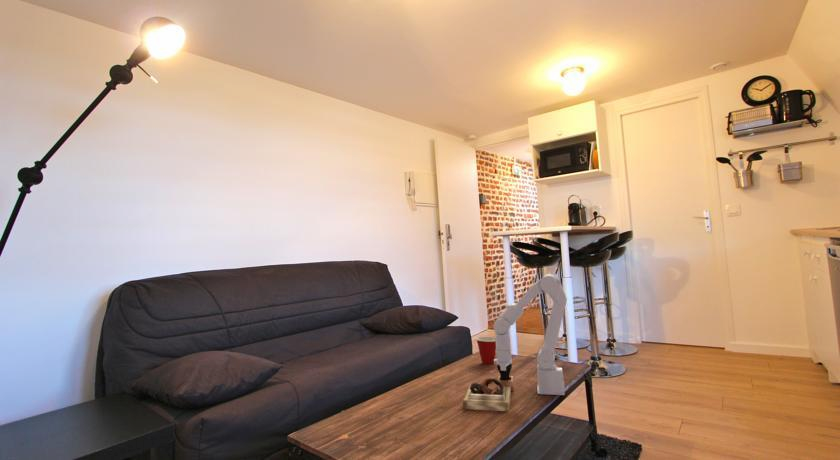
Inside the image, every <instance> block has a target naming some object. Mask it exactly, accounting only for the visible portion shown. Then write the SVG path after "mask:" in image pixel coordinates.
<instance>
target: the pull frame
mask: <svg viewBox="0 0 840 460" xmlns="http://www.w3.org/2000/svg"><path fill="white" fill-rule="evenodd" d="M514 378H515V377H514V376H513V375H509V380H502V379H501V375H498V376H497V379H496V380H498V381H499V382H500V383H501V384H502V386H503V395H494V394H493V395H487V394H468V399H480V400H500V401H505V398H506V391H507V387H510V388H511V391H512V392H513V391H514V390H515V383H514V382H515V380H514ZM496 386H497V391H500V386H498V385H496Z"/></svg>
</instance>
